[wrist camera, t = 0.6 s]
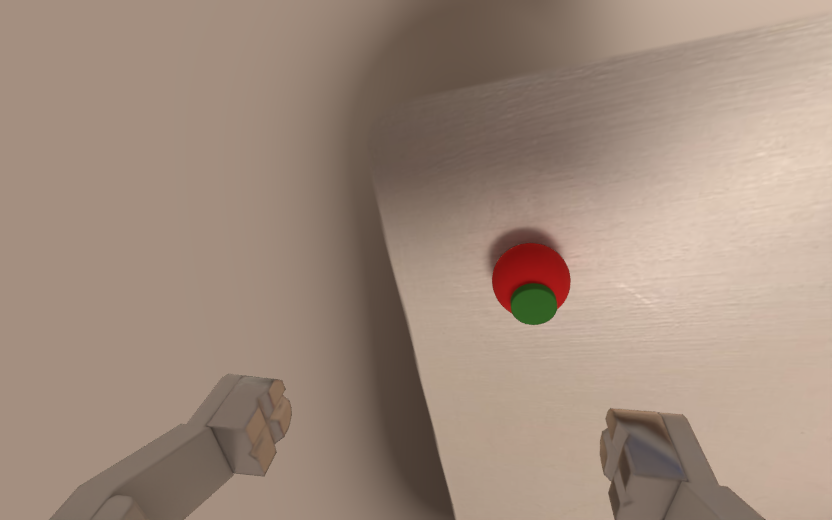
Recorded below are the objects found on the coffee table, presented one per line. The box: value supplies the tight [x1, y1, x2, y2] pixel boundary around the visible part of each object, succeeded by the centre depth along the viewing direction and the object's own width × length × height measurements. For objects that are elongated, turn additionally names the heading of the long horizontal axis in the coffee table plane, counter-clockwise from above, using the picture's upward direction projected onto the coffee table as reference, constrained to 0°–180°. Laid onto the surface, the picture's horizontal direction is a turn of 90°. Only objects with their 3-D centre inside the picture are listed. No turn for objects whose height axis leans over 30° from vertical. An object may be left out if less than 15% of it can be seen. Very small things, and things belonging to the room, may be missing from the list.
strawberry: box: [492, 243, 571, 325], centre depth 24 cm, size 4×4×5 cm
